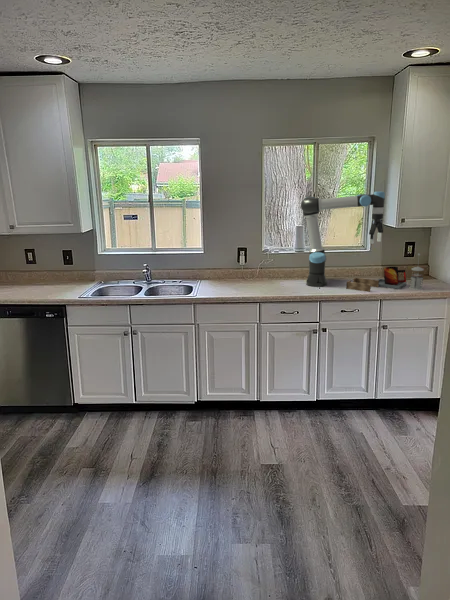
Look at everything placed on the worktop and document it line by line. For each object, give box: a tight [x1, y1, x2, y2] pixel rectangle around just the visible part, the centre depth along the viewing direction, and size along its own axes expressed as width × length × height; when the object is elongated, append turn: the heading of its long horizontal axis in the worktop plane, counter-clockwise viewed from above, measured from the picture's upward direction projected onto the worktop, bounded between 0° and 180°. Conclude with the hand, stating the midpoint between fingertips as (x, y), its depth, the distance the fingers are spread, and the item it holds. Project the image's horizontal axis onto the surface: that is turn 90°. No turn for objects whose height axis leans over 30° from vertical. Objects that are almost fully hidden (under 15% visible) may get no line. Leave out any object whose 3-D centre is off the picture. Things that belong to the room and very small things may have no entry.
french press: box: [408, 252, 425, 291], centre depth 299 cm, size 10×12×25 cm
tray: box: [377, 278, 407, 290], centre depth 314 cm, size 20×16×2 cm
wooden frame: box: [345, 277, 379, 293], centre depth 308 cm, size 17×16×5 cm
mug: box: [383, 266, 407, 285], centre depth 312 cm, size 10×14×12 cm
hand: (375, 242), depth 317 cm, fingers open, 13 cm apart
